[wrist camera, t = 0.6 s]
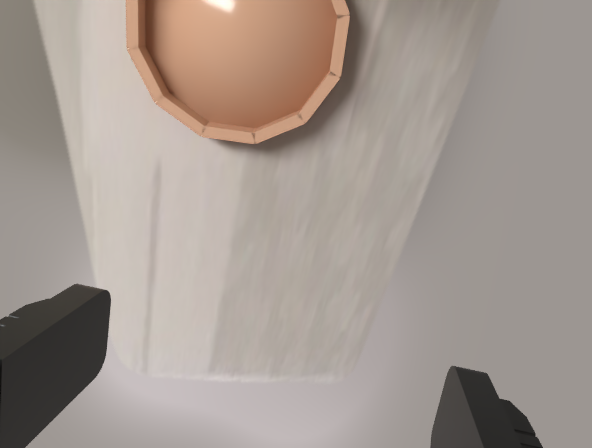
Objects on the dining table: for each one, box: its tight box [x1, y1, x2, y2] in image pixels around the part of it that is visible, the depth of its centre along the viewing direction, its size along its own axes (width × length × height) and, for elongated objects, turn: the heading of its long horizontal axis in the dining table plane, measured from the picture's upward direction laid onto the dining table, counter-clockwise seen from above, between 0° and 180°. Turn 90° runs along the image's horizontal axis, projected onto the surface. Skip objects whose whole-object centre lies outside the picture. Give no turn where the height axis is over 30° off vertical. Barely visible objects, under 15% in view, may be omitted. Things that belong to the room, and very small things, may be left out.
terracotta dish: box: [126, 0, 350, 144], centre depth 34 cm, size 15×15×2 cm
